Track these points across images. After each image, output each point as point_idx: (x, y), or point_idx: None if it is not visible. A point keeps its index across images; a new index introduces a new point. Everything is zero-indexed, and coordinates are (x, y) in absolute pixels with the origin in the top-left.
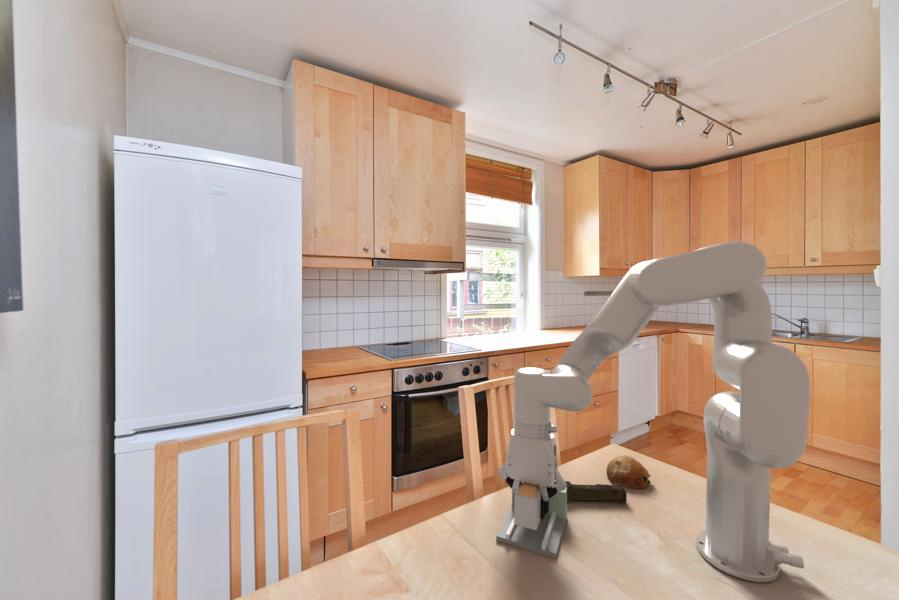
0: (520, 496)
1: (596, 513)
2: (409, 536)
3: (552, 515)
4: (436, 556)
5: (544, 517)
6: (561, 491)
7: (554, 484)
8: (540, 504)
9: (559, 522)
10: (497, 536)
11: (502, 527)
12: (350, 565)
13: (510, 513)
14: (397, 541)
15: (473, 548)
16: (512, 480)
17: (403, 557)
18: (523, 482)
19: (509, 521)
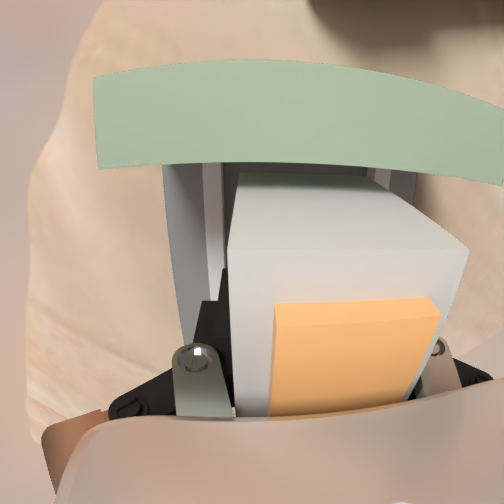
0: None
1: (491, 54)
2: (29, 367)
3: (379, 179)
4: (104, 401)
5: (336, 169)
6: (487, 178)
7: (448, 90)
8: None
9: (399, 183)
10: (188, 343)
11: (184, 303)
12: (39, 422)
13: (176, 207)
14: (29, 381)
15: (149, 372)
16: (157, 408)
17: (67, 408)
18: (253, 415)
19: (193, 261)
